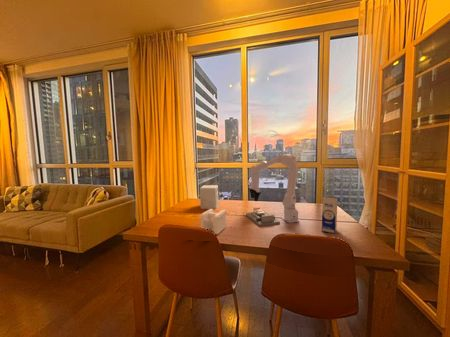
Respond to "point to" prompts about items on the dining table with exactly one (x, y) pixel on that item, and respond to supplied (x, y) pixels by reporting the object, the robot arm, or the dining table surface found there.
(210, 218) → the cable organizer
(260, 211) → the cutter blade
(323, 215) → the milk carton
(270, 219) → the cutter base
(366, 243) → the dining table surface
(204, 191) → the supplement box
